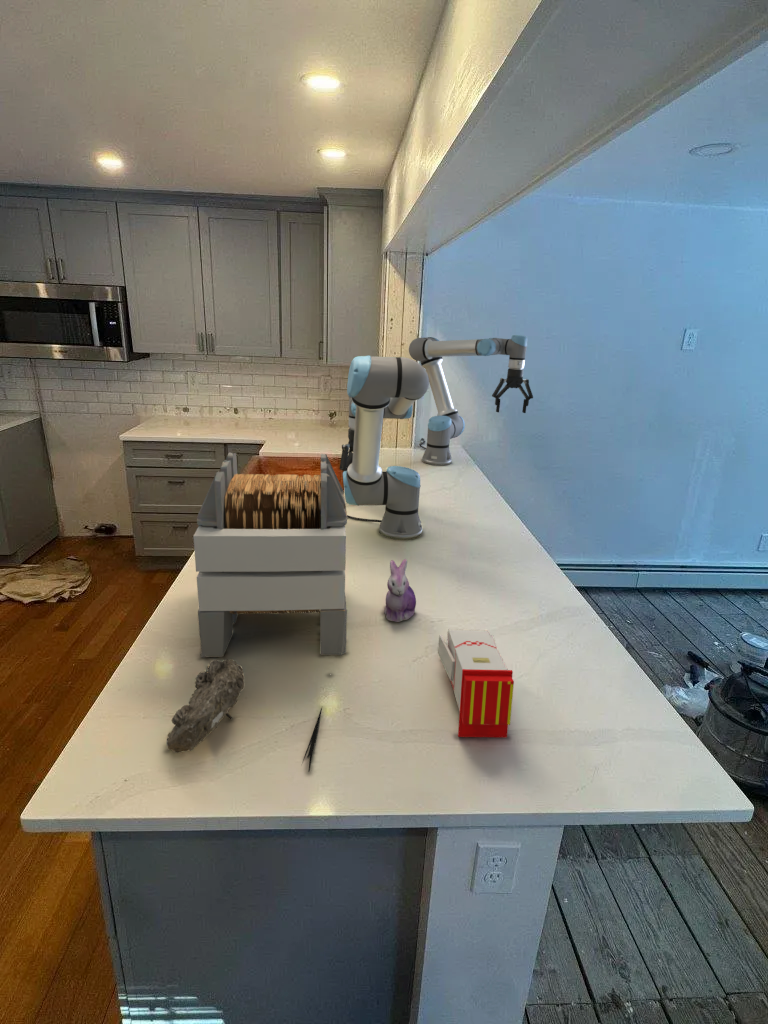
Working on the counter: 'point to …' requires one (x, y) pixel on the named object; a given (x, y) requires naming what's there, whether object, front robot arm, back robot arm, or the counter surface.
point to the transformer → (271, 552)
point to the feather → (313, 740)
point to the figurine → (399, 594)
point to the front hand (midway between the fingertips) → (356, 485)
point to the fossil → (206, 705)
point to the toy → (478, 682)
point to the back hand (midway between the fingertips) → (510, 412)
